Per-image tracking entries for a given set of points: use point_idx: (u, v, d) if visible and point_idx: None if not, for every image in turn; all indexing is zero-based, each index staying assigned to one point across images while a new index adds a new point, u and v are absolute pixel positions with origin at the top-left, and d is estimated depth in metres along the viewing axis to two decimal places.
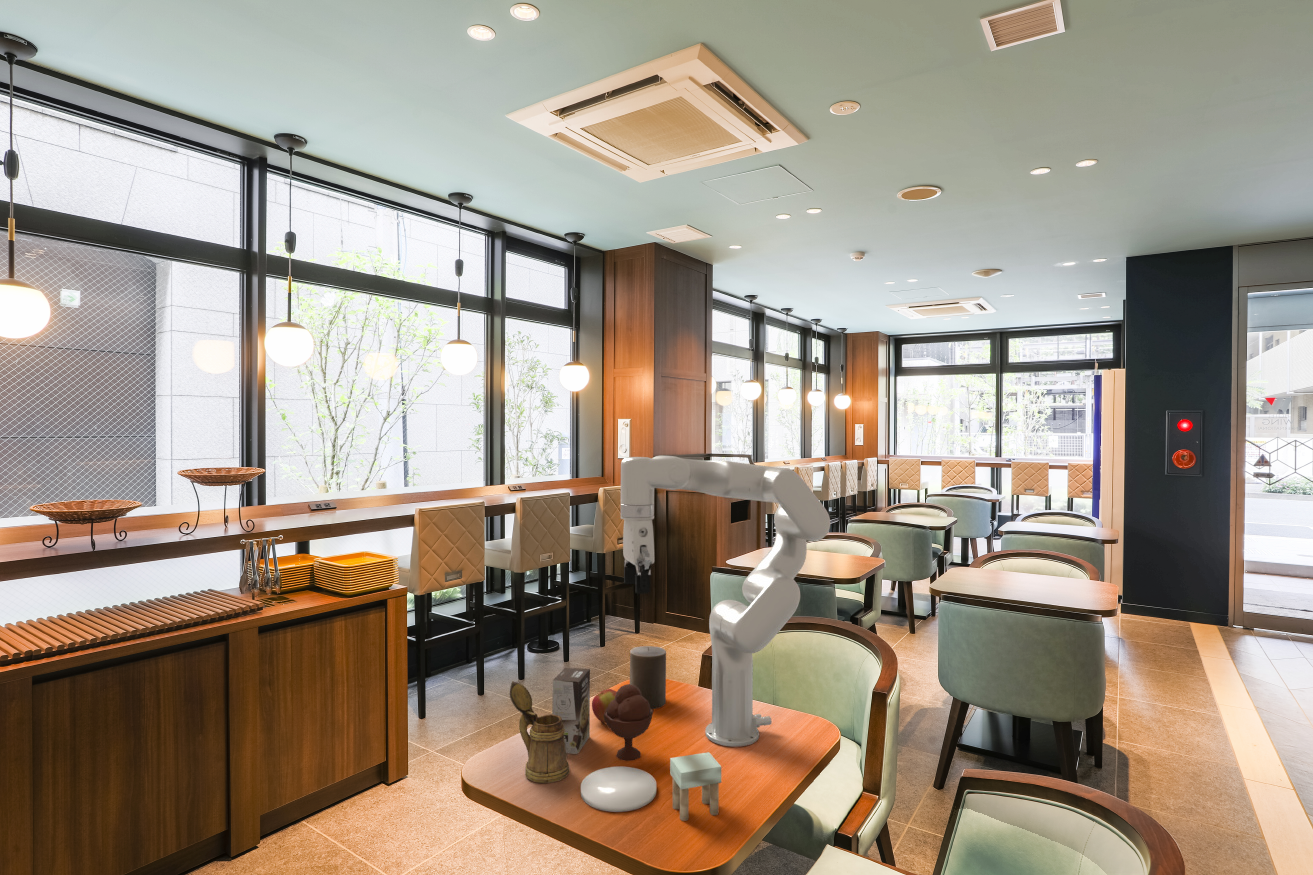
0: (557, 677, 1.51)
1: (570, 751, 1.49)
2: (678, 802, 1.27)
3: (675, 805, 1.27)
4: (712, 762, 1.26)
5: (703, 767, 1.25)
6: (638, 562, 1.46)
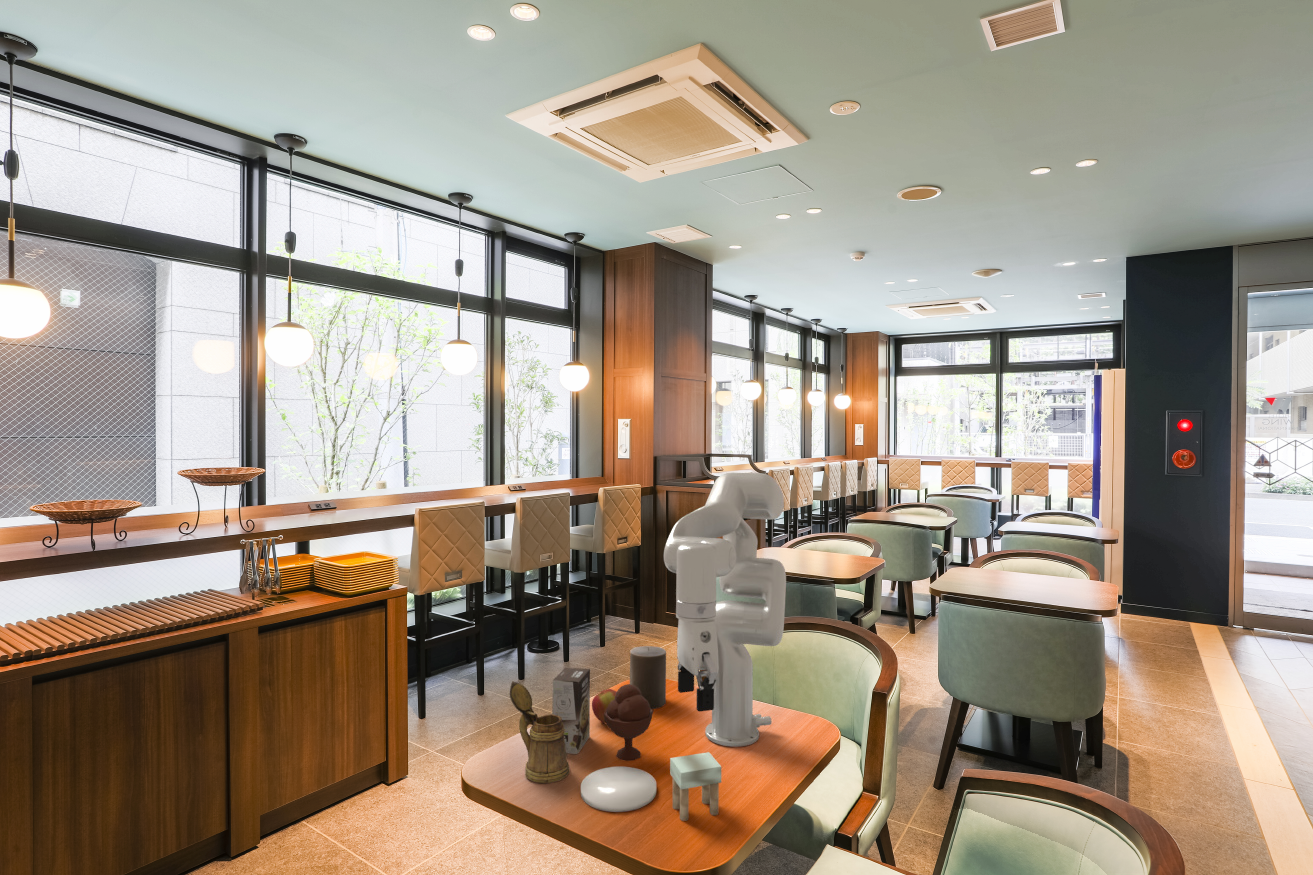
0: (557, 677, 1.51)
1: (570, 751, 1.49)
2: (678, 802, 1.27)
3: (675, 805, 1.27)
4: (712, 762, 1.26)
5: (703, 767, 1.25)
6: (699, 673, 1.22)
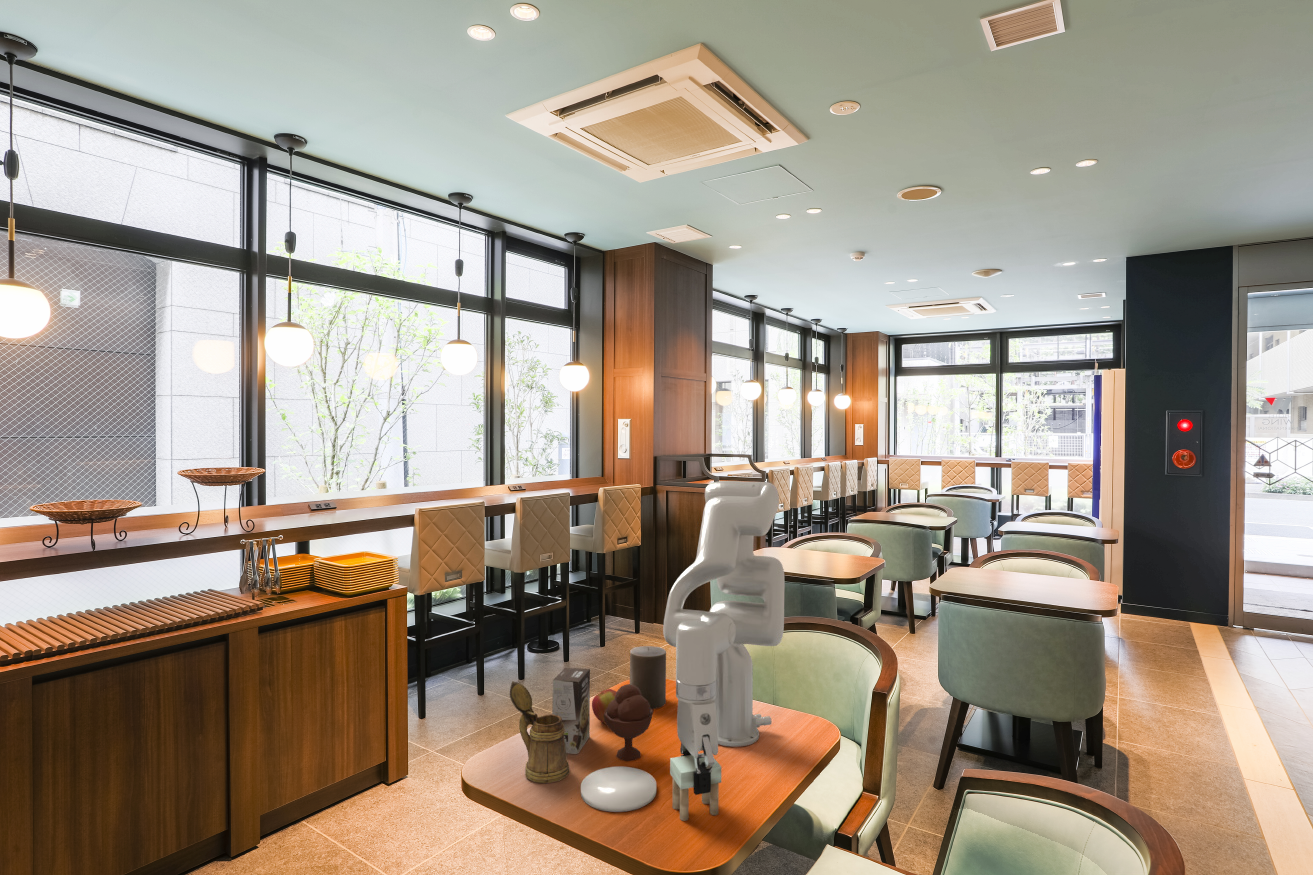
0: (557, 677, 1.51)
1: (570, 751, 1.49)
2: (678, 802, 1.27)
3: (675, 805, 1.27)
4: None
5: None
6: (698, 757, 1.23)
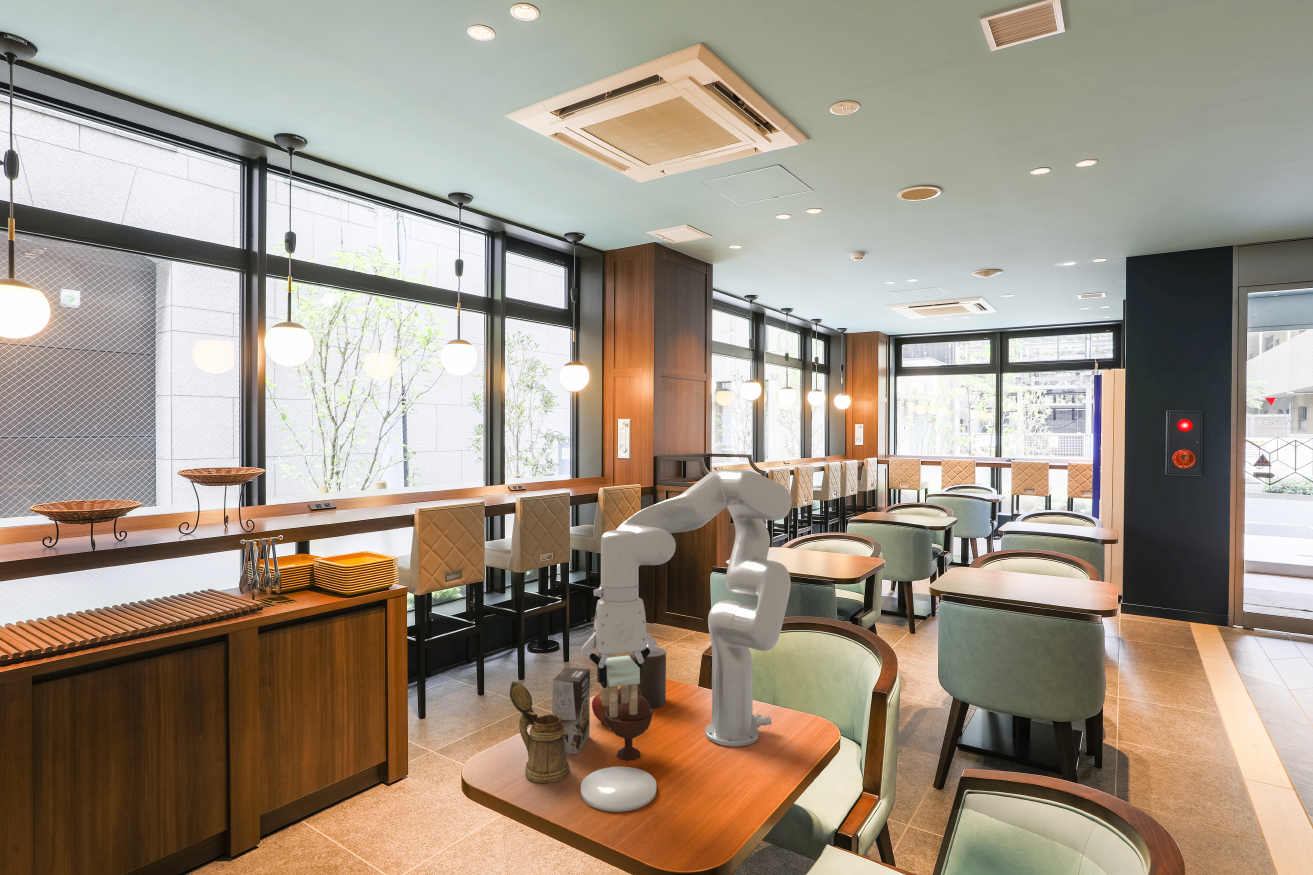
0: (557, 677, 1.51)
1: (570, 751, 1.49)
2: (621, 696, 1.37)
3: None
4: (617, 668, 1.30)
5: (607, 665, 1.32)
6: None
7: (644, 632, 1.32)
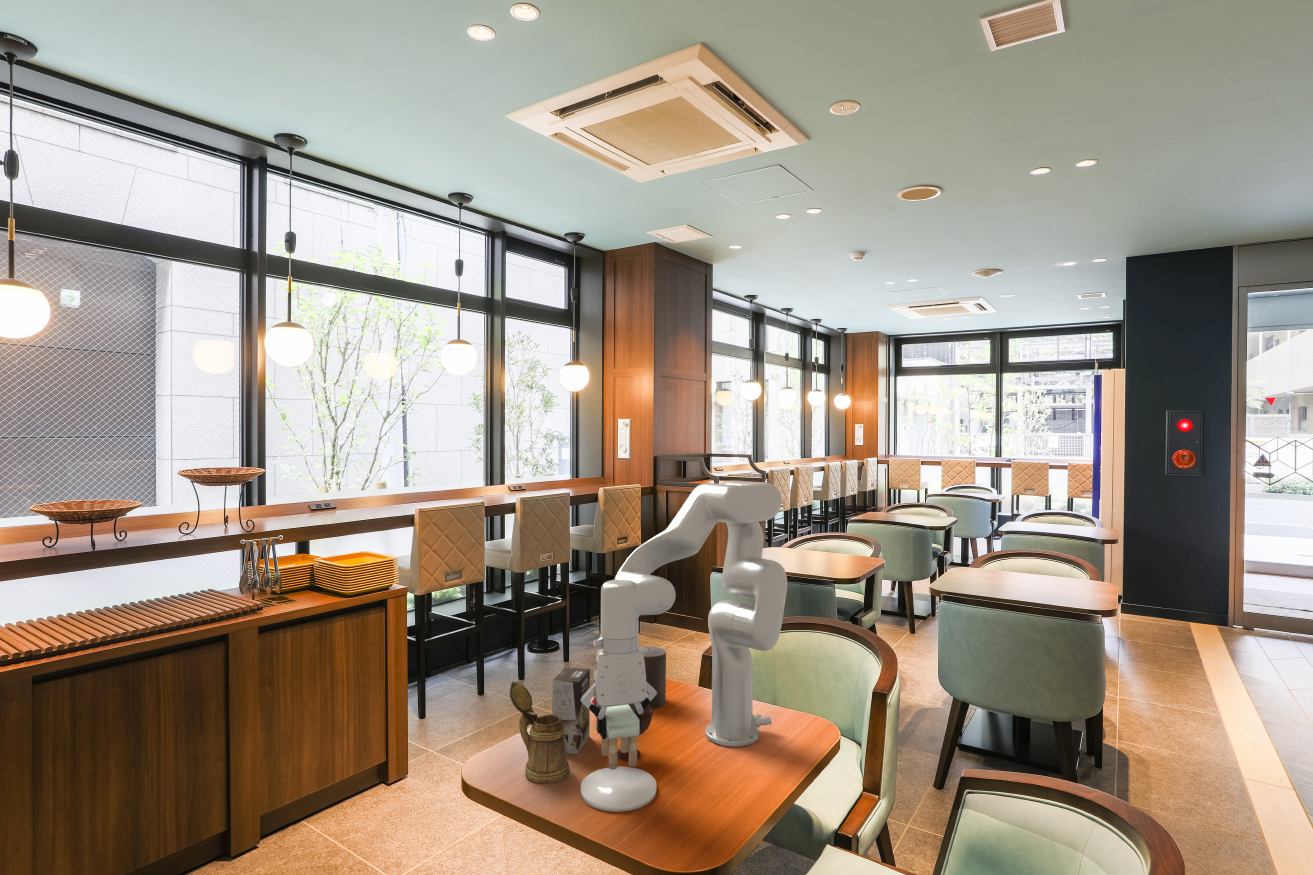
0: (557, 677, 1.51)
1: (570, 751, 1.49)
2: (621, 745, 1.37)
3: None
4: (616, 720, 1.30)
5: (607, 716, 1.32)
6: None
7: (644, 683, 1.32)
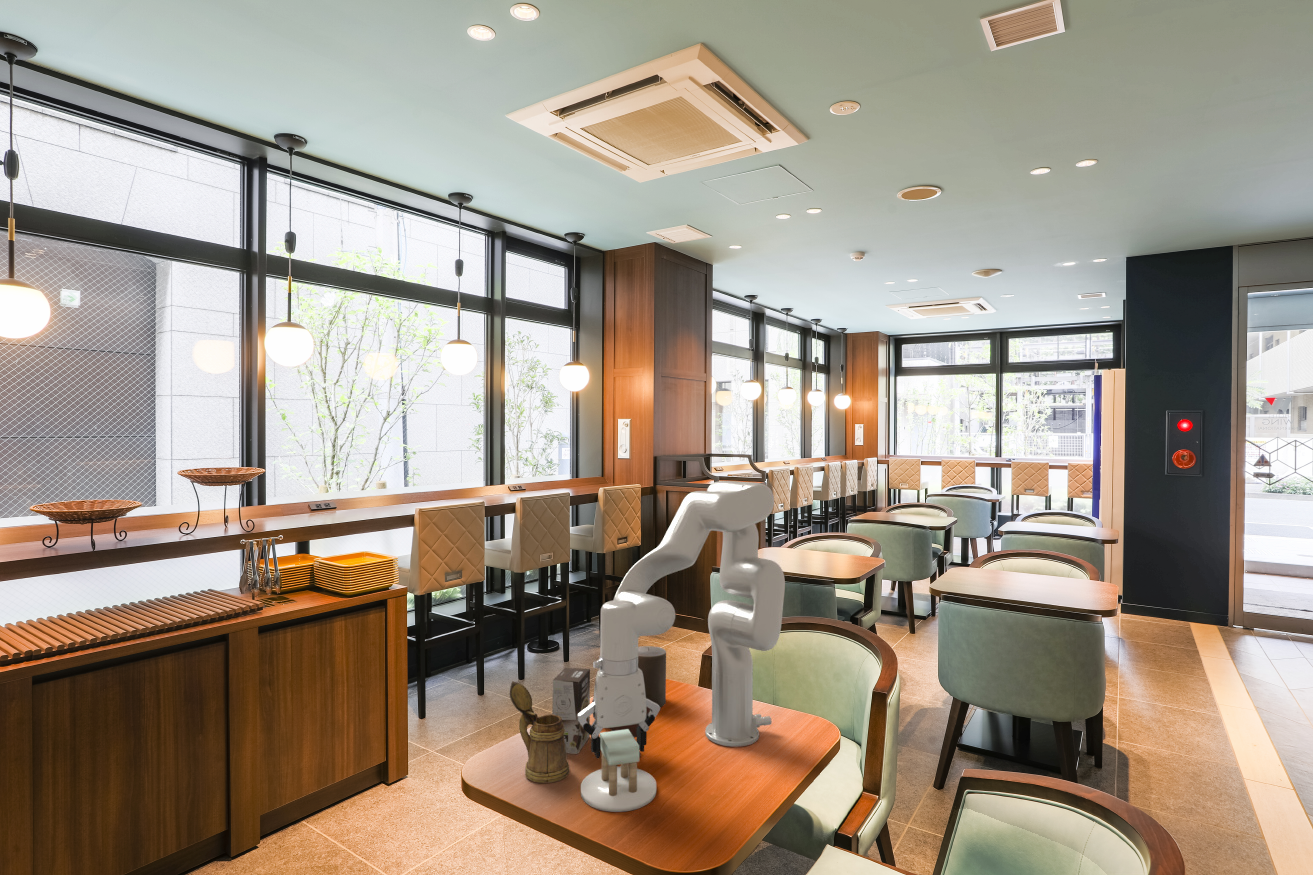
0: (557, 677, 1.51)
1: (570, 751, 1.49)
2: (621, 770, 1.37)
3: None
4: (616, 746, 1.30)
5: (607, 742, 1.32)
6: (596, 719, 1.33)
7: (643, 704, 1.32)
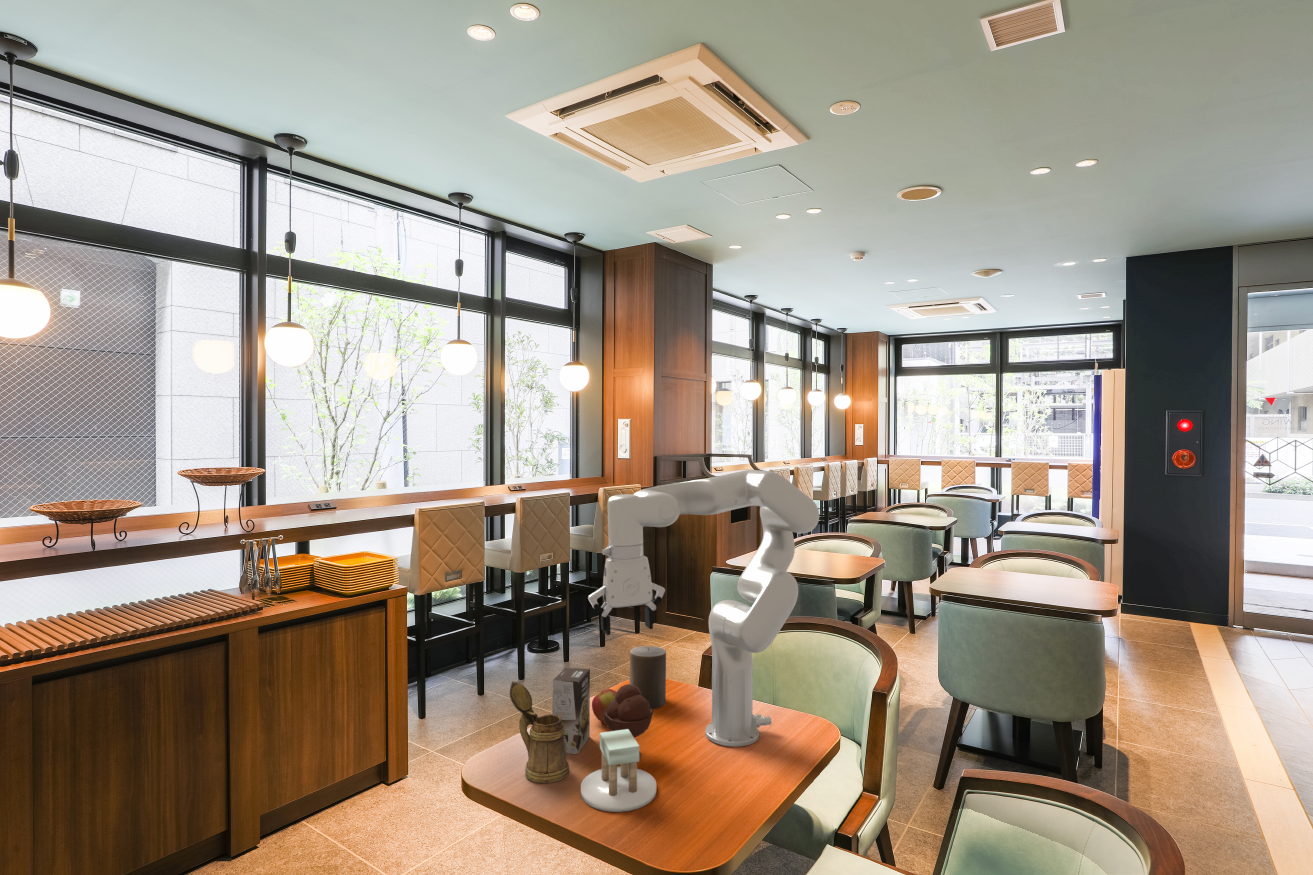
0: (557, 677, 1.51)
1: (570, 751, 1.49)
2: (621, 770, 1.37)
3: None
4: (616, 746, 1.30)
5: (607, 742, 1.32)
6: (605, 601, 1.45)
7: (649, 586, 1.45)
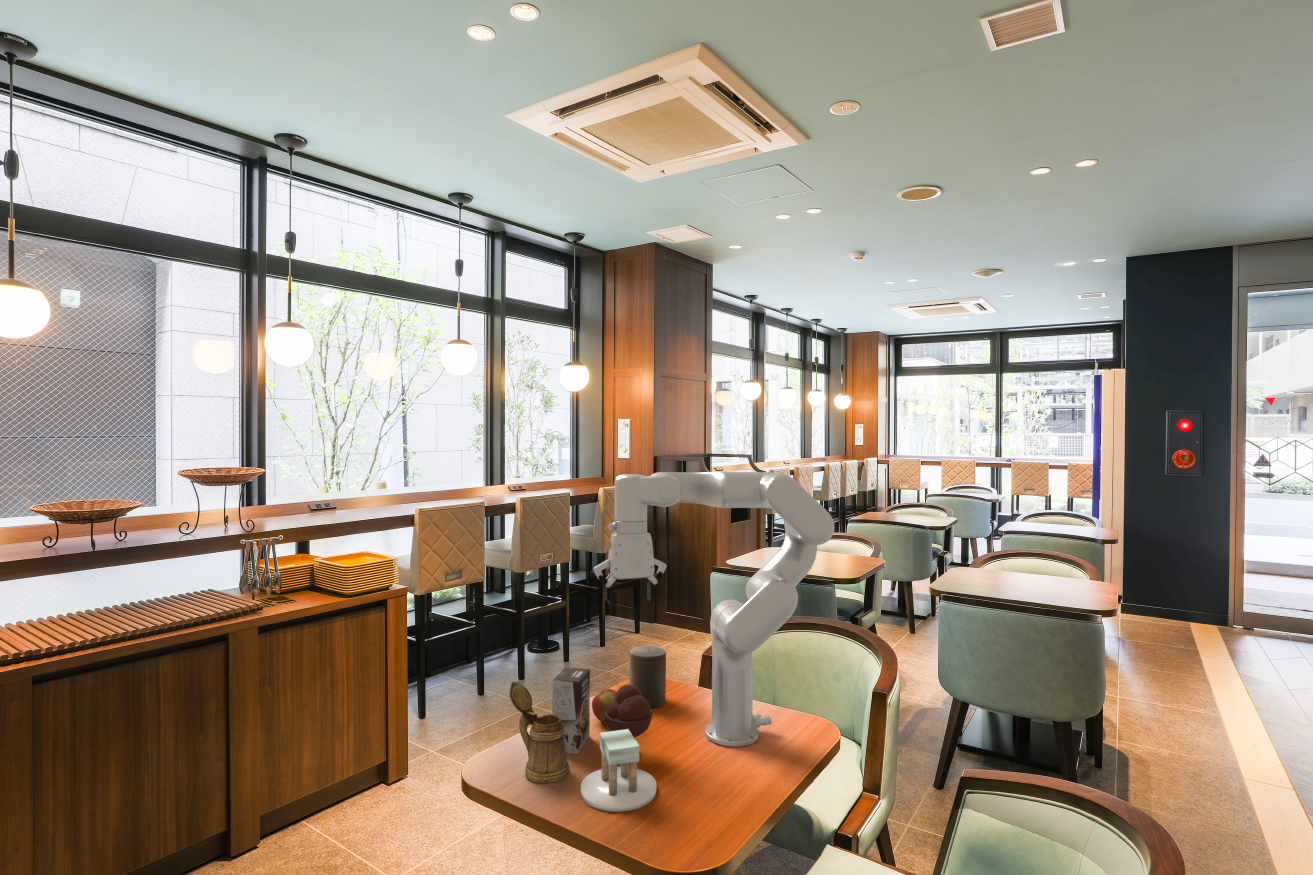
0: (557, 677, 1.51)
1: (570, 751, 1.49)
2: (621, 770, 1.37)
3: None
4: (616, 746, 1.30)
5: (607, 742, 1.32)
6: (610, 573, 1.54)
7: (651, 561, 1.54)
